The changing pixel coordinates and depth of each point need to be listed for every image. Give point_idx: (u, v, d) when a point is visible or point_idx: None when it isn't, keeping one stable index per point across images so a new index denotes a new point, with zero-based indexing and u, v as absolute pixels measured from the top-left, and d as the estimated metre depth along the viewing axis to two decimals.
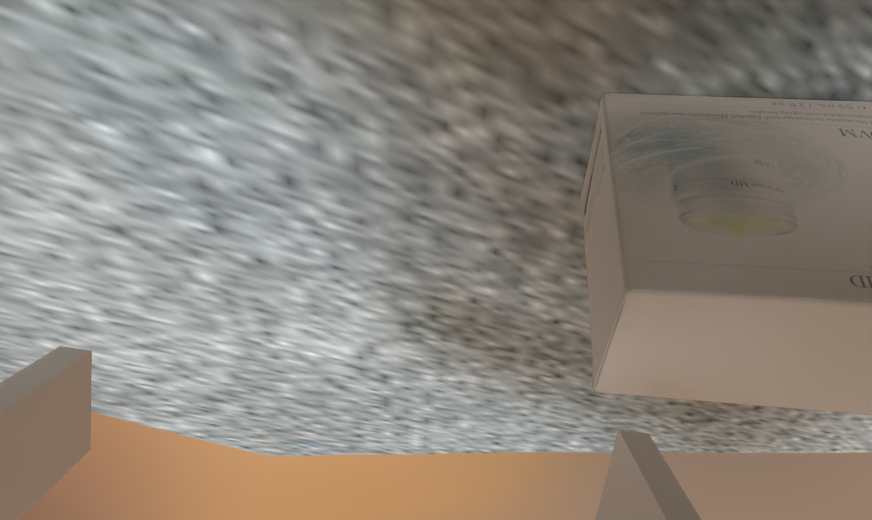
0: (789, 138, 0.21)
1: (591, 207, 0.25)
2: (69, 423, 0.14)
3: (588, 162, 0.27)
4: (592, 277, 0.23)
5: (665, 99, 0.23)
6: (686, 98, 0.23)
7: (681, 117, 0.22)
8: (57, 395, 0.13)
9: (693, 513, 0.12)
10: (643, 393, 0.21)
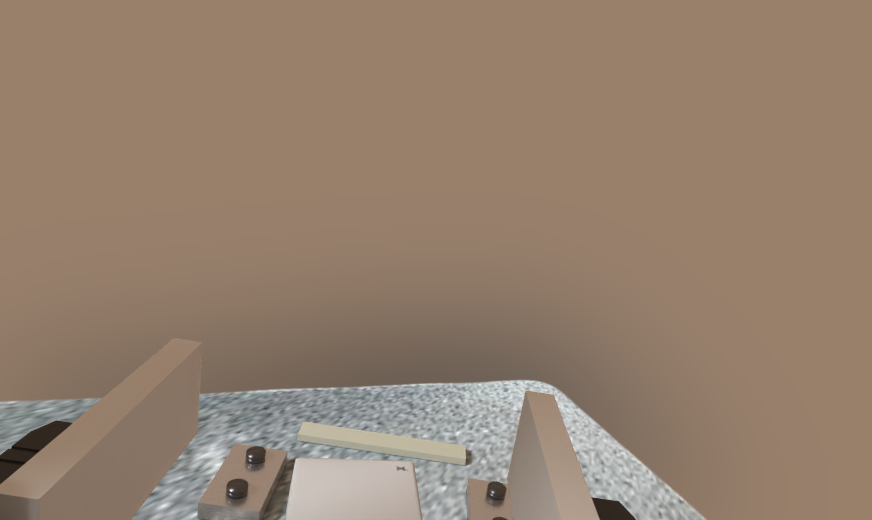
0: None
1: None
2: (185, 408, 0.15)
3: None
4: None
5: None
6: None
7: None
8: (179, 382, 0.15)
9: (572, 457, 0.13)
10: None
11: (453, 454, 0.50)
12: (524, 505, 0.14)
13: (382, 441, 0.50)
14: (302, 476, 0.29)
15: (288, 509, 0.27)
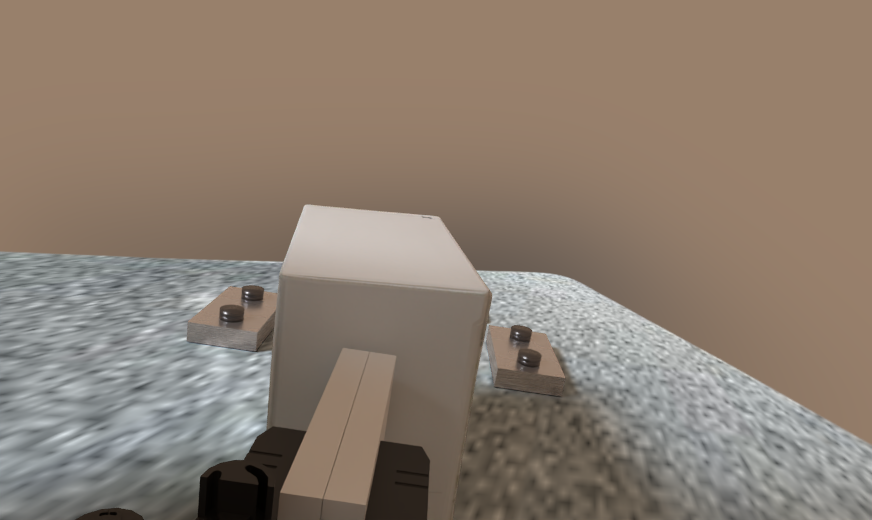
0: None
1: None
2: None
3: None
4: (417, 416, 0.18)
5: None
6: None
7: None
8: None
9: (381, 406, 0.14)
10: (468, 270, 0.19)
11: None
12: None
13: None
14: (313, 211, 0.25)
15: (298, 224, 0.22)
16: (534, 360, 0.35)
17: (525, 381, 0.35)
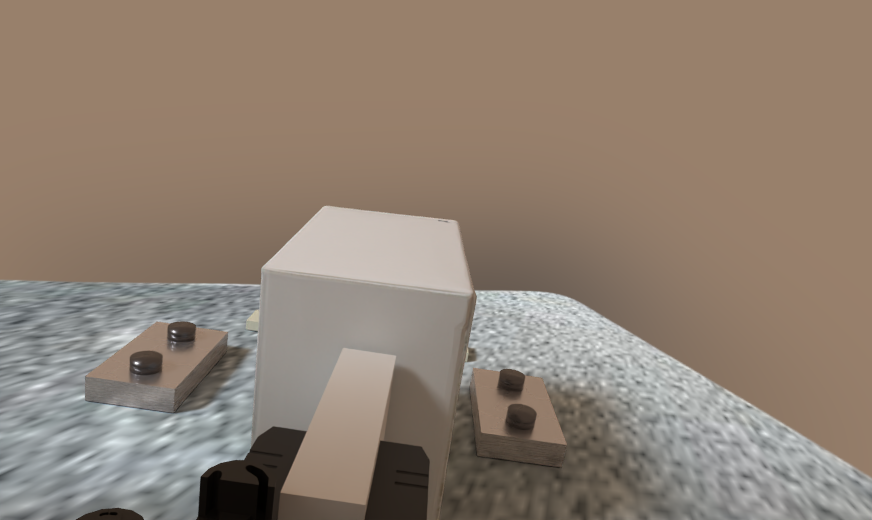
0: None
1: None
2: None
3: None
4: (398, 418, 0.18)
5: None
6: None
7: None
8: None
9: (381, 406, 0.14)
10: (460, 272, 0.18)
11: None
12: None
13: None
14: (328, 211, 0.25)
15: (307, 223, 0.23)
16: (527, 421, 0.28)
17: (516, 448, 0.28)
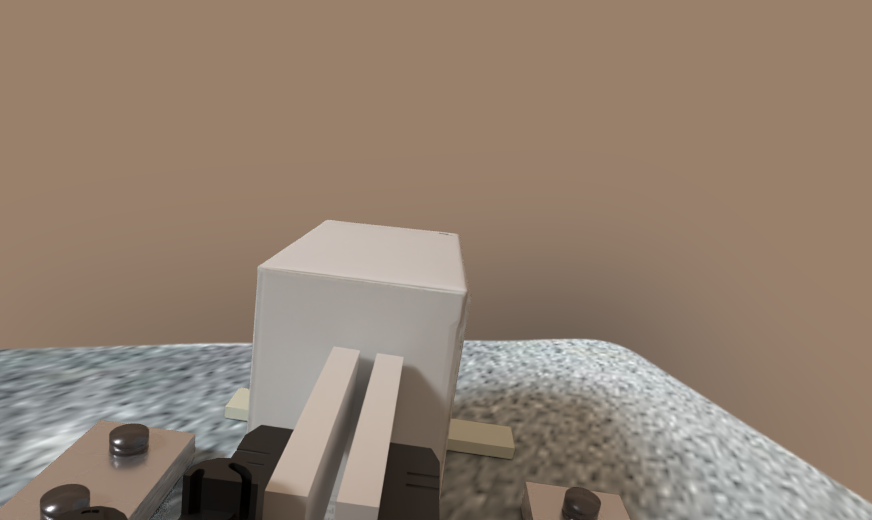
0: None
1: None
2: (349, 412, 0.16)
3: None
4: None
5: None
6: None
7: None
8: (350, 388, 0.16)
9: (391, 408, 0.14)
10: (455, 274, 0.18)
11: (491, 440, 0.29)
12: None
13: None
14: (330, 224, 0.25)
15: (308, 233, 0.23)
16: None
17: None
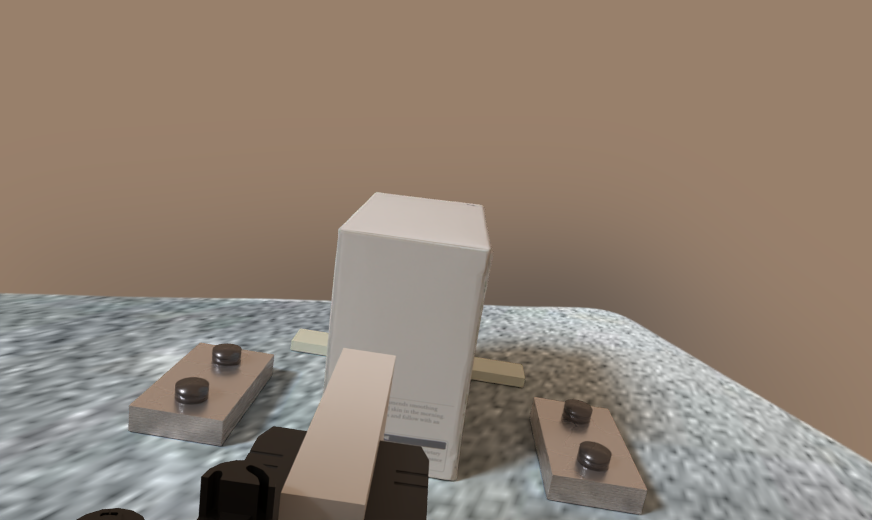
0: None
1: (408, 412, 0.25)
2: None
3: None
4: (435, 342, 0.24)
5: None
6: None
7: None
8: None
9: (381, 406, 0.14)
10: (481, 237, 0.25)
11: (506, 372, 0.36)
12: None
13: None
14: (379, 196, 0.31)
15: None
16: (602, 462, 0.26)
17: (590, 492, 0.25)
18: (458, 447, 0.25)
